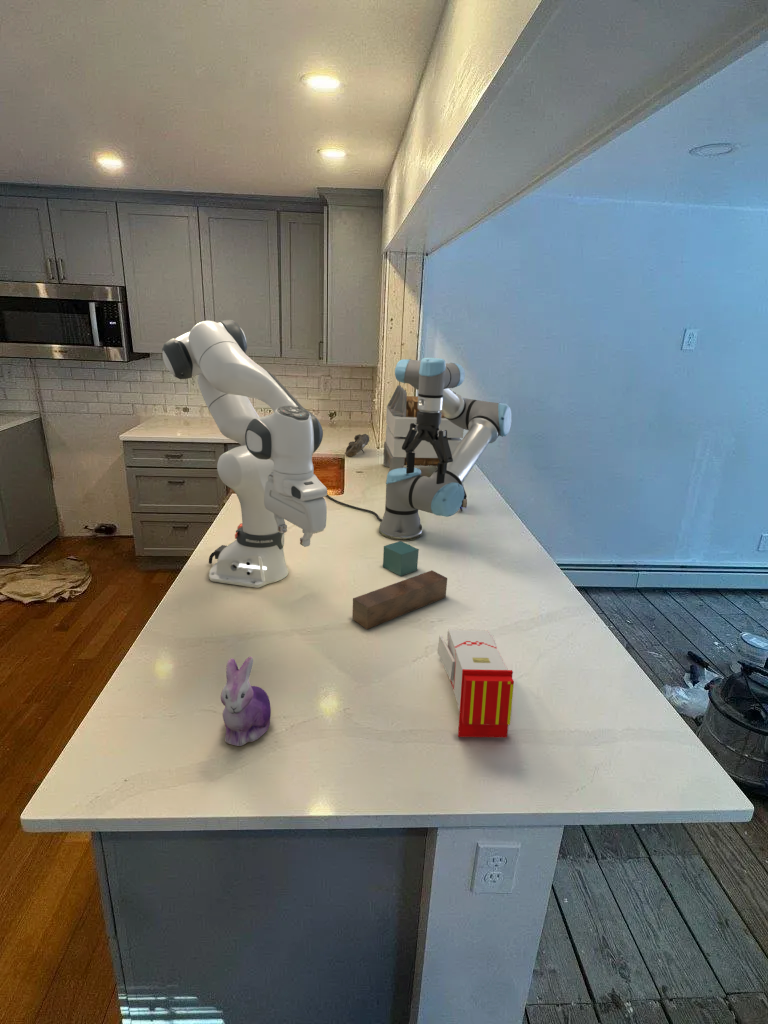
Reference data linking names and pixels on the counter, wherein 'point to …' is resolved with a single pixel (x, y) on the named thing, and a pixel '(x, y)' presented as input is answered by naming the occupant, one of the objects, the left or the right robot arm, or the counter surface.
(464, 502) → the figurine character
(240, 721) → the figurine
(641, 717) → the counter surface
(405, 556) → the cap block
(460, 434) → the white storage bin
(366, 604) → the plank
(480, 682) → the toy
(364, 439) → the fossil
